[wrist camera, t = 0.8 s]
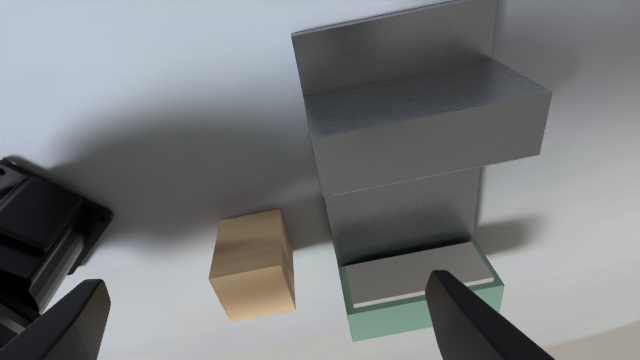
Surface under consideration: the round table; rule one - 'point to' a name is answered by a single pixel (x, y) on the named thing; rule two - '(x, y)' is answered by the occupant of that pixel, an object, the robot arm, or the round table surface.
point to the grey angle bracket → (412, 124)
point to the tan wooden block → (253, 266)
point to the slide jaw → (411, 288)
